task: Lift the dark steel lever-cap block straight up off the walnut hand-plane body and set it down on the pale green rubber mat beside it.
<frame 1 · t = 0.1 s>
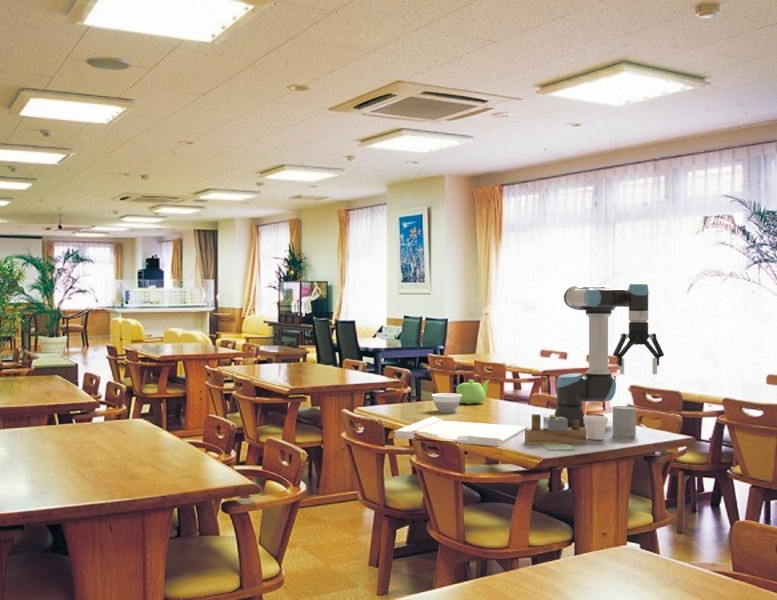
hand: (638, 374, 322), 28 cm above the table, fingers open, 13 cm apart
plane body: (555, 442, 323), on the table
mat: (558, 448, 311), on the table
cup: (595, 439, 331), on the table
white flat slab: (463, 435, 345), on the table
bowl: (446, 411, 412), on the table
teapot: (472, 403, 444), on the table
grey cylindrical container: (624, 436, 338), on the table
lever cap: (555, 429, 323), point 5 cm above the table, touching plane body
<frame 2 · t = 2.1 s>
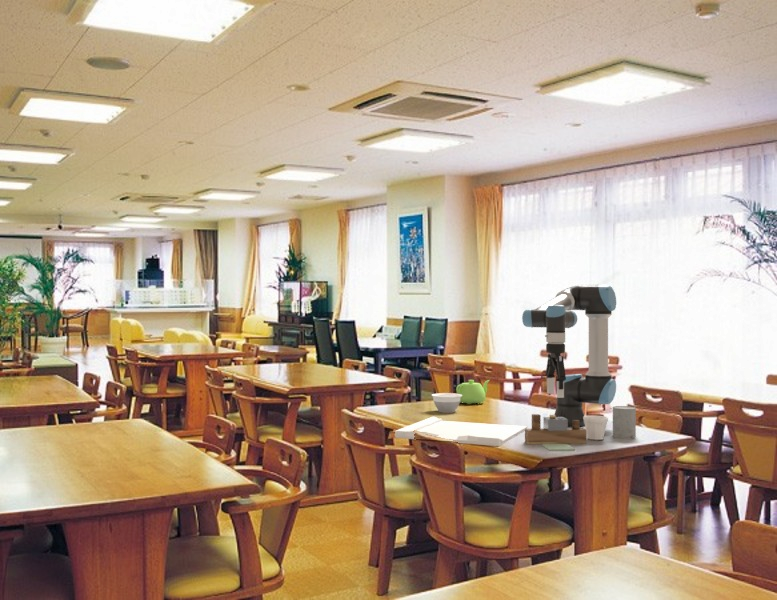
hand: (555, 395, 322), 19 cm above the table, fingers open, 13 cm apart
nothing on the table moved.
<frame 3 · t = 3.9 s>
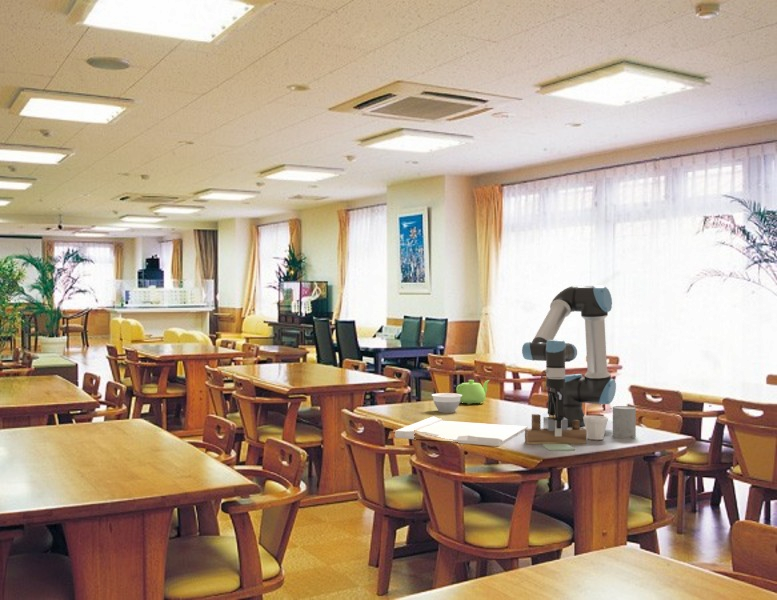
hand: (555, 434, 323), 3 cm above the table, fingers closed on lever cap, 7 cm apart
lever cap: (555, 429, 323), point 6 cm above the table, touching gripper, plane body
everything else where it was.
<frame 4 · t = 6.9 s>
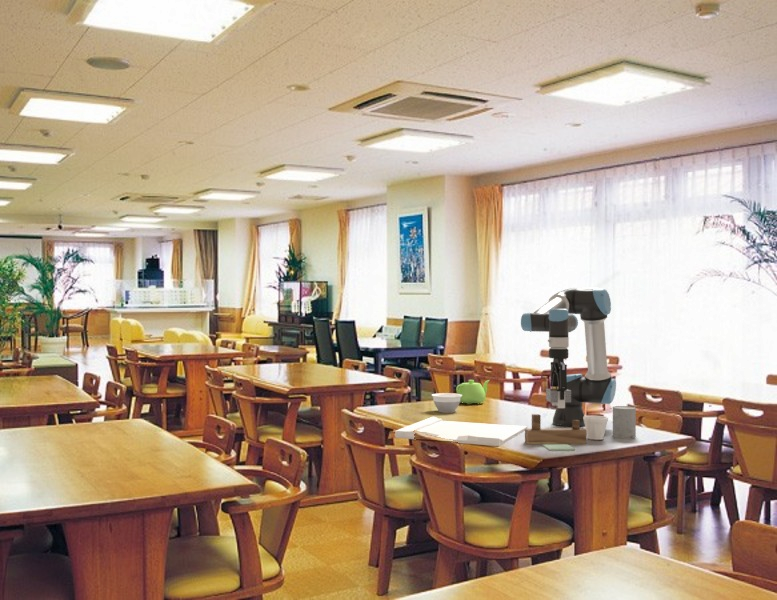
hand: (558, 406, 311), 16 cm above the table, fingers closed on lever cap, 7 cm apart
lever cap: (558, 401, 311), point 18 cm above the table, touching gripper
everything else where it was.
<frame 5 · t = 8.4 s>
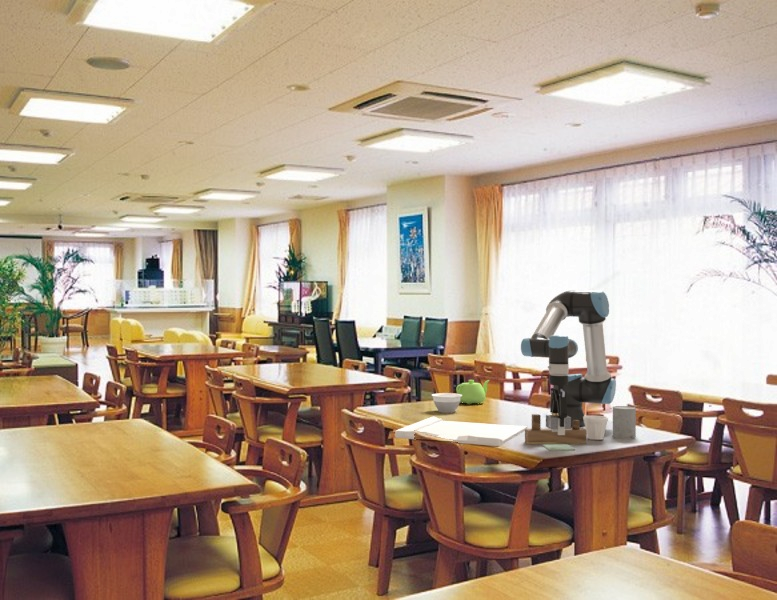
hand: (558, 433, 311), 6 cm above the table, fingers closed on lever cap, 7 cm apart
lever cap: (558, 427, 311), point 8 cm above the table, touching gripper
everything else where it was.
when the fingers open (2 cm above the table, at t = 9.7 s): lever cap drops 3 cm, resting on mat.
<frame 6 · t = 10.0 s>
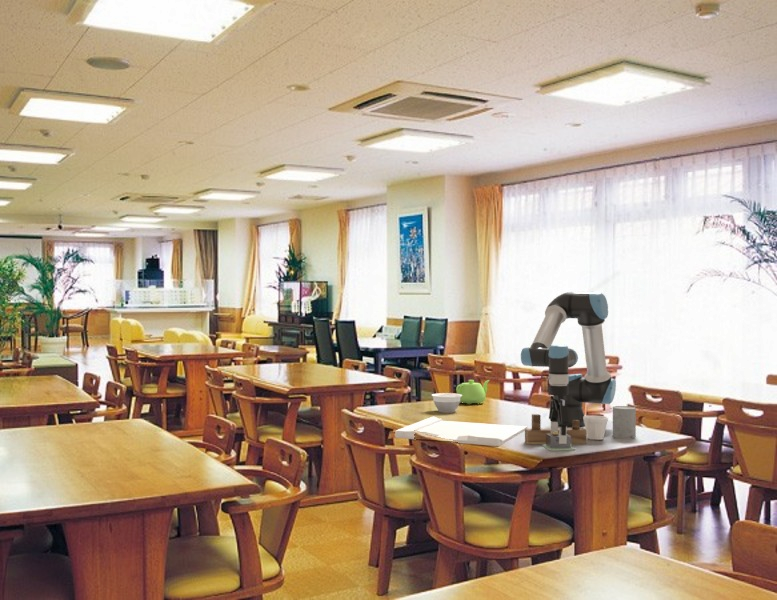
hand: (558, 440, 311), 3 cm above the table, fingers open, 11 cm apart
lever cap: (558, 446, 312), point 1 cm above the table, touching mat
everything else where it was.
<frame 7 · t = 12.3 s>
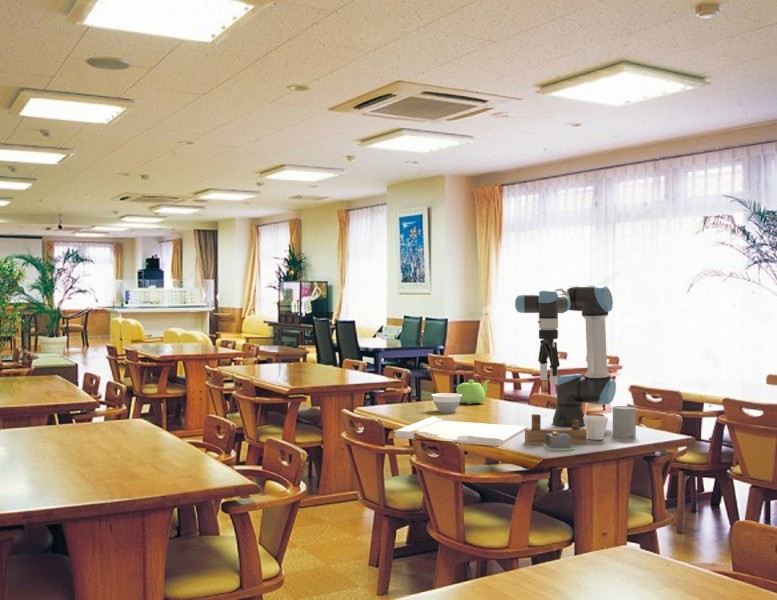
hand: (548, 382, 319), 25 cm above the table, fingers open, 13 cm apart
nothing on the table moved.
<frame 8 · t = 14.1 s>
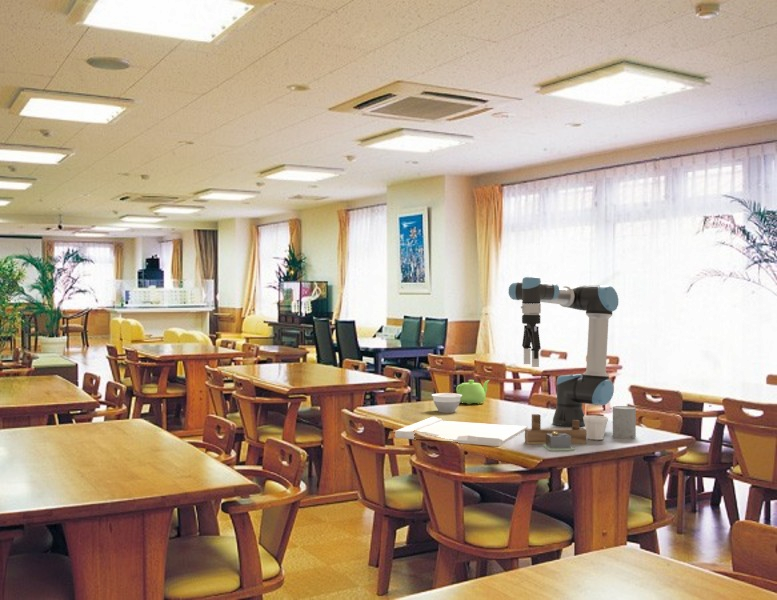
hand: (531, 365, 330), 31 cm above the table, fingers open, 13 cm apart
nothing on the table moved.
at the end: lever cap inside the target area on the mat (0.0 cm from its centre), point 0.6 cm above the mat's base; lever cap touching mat; lever cap tilted 0° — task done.
